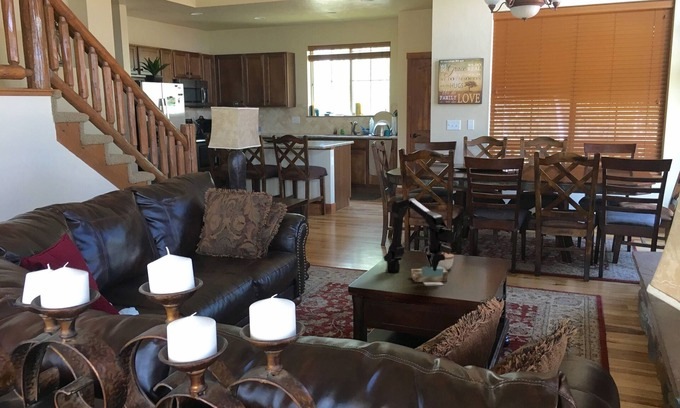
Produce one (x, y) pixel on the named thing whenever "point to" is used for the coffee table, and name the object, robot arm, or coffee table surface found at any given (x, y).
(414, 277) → the wooden tray
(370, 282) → the coffee table surface
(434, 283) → the mat
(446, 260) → the lidded jar
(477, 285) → the coffee table surface
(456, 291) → the coffee table surface
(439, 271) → the light blue rectangular block
